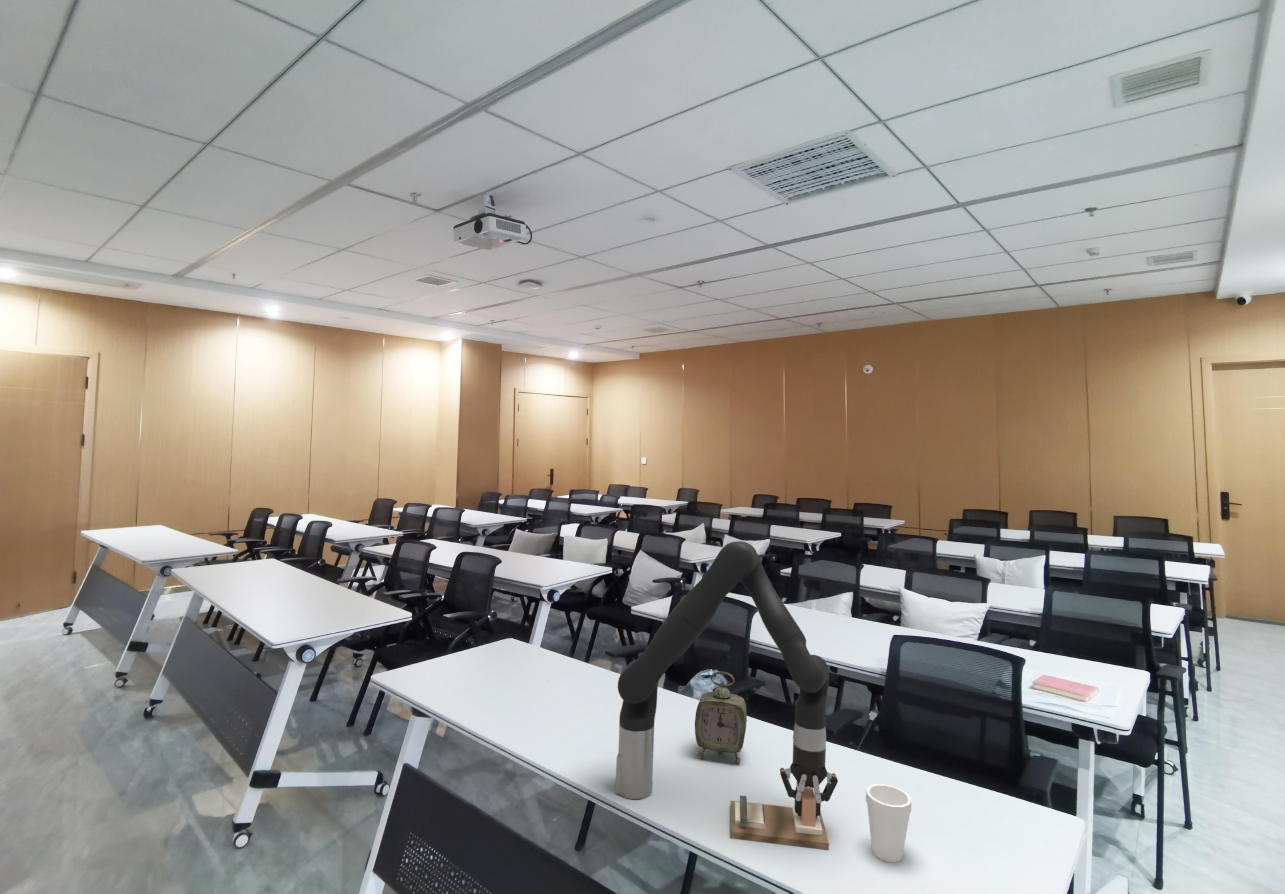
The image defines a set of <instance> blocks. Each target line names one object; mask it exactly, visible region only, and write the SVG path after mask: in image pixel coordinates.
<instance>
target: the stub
mask: <svg viewBox="0 0 1285 894" xmlns="http://www.w3.org/2000/svg"><path fill="white" fill-rule="evenodd" d="M801 801H802V803H801V816H798V814H797V813H796V812H795V808H794V807H793V808H792V814H793V820H794V825H795V831H796V833H805V834H813V835H822V832H823V830H822V826H821V822H820V818H819V816H818V817H817V818H816V799H815V794H814V788H811V787H804V790H803V793H802V796H801Z"/></svg>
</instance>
